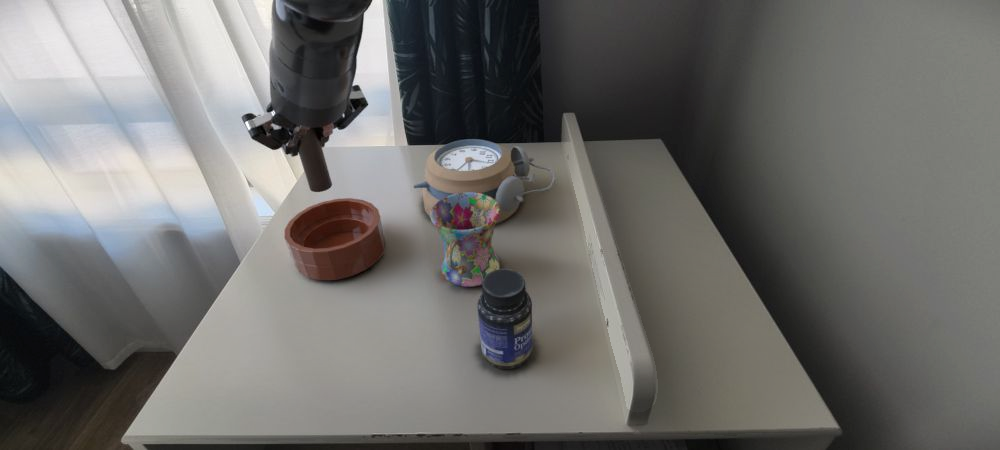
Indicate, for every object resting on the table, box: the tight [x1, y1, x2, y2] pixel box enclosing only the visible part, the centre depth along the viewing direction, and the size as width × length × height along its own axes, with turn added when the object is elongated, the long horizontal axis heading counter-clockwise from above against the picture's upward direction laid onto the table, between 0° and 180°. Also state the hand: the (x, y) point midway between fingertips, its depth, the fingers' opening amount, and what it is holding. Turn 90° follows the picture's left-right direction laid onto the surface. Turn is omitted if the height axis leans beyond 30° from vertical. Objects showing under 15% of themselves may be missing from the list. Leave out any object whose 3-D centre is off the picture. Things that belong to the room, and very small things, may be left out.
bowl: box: [283, 197, 387, 281], centre depth 74 cm, size 14×14×6 cm
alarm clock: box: [413, 138, 556, 225], centre depth 83 cm, size 17×9×23 cm
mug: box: [429, 192, 501, 288], centre depth 67 cm, size 12×9×11 cm
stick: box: [298, 127, 333, 193], centre depth 60 cm, size 3×3×12 cm
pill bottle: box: [477, 268, 533, 370], centre depth 56 cm, size 6×6×11 cm
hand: (304, 145), depth 62 cm, fingers closed on stick, 3 cm apart
